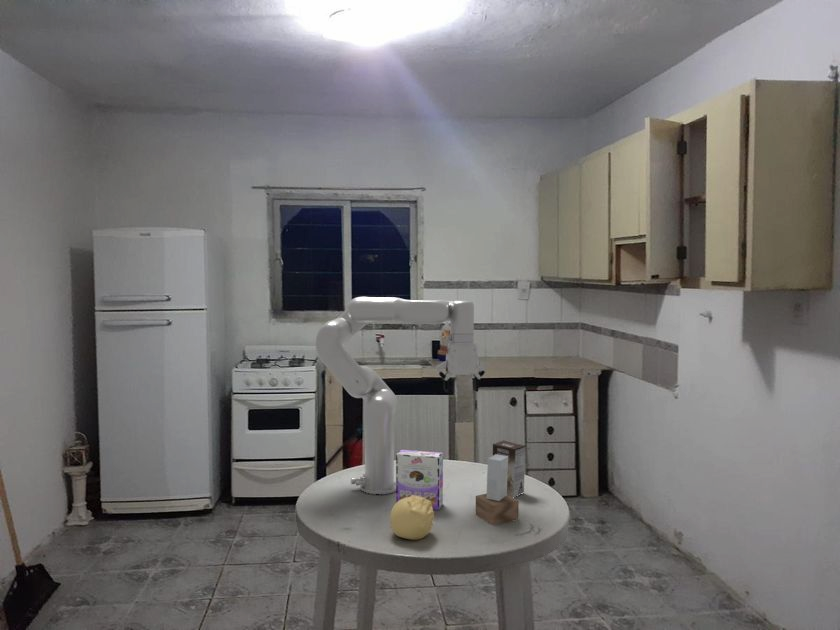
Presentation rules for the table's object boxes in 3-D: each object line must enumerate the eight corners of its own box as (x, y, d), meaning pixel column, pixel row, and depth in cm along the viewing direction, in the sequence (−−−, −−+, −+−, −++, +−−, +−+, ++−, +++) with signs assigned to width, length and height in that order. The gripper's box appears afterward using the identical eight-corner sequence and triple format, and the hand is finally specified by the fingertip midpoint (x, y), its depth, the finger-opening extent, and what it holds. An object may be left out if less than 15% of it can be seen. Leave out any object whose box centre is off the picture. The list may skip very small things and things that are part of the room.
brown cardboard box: (492, 525, 185) (492, 505, 185) (475, 515, 193) (475, 495, 193) (518, 520, 189) (518, 500, 189) (500, 510, 197) (500, 491, 197)
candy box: (443, 504, 202) (444, 451, 201) (439, 510, 196) (439, 457, 195) (401, 499, 206) (401, 448, 205) (395, 506, 200) (395, 453, 199)
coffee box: (490, 491, 214) (491, 443, 213) (502, 487, 218) (502, 440, 217) (514, 498, 207) (514, 448, 206) (525, 493, 212) (526, 445, 211)
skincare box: (493, 493, 195) (495, 453, 194) (506, 496, 193) (508, 456, 192) (485, 498, 189) (487, 458, 189) (499, 501, 187) (501, 460, 187)
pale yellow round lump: (430, 545, 171) (430, 505, 170) (385, 542, 173) (386, 502, 172) (437, 529, 182) (437, 491, 182) (395, 525, 184) (395, 488, 184)
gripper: (439, 340, 204) (439, 394, 205) (491, 339, 208) (490, 392, 209) (432, 338, 211) (432, 390, 212) (483, 337, 216) (482, 388, 217)
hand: (461, 391), depth 211 cm, fingers open, 9 cm apart
